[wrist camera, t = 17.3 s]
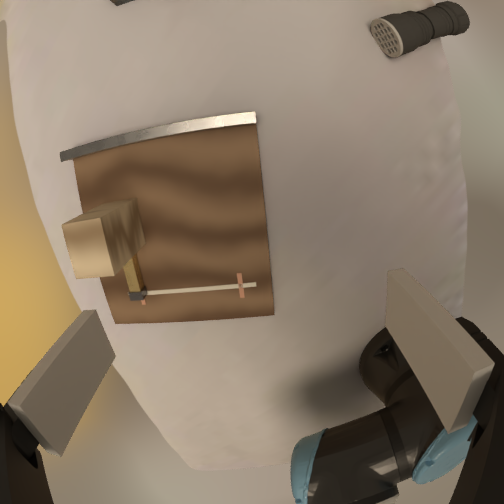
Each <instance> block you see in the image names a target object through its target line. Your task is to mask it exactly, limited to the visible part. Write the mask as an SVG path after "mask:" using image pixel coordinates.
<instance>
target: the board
mask: <svg viewBox="0 0 504 504" xmlns="http://www.w3.org/2000/svg"><path fill="white" fill-rule="evenodd" d="M60 159H61V162H62V161H67V160H73V161H74V168H75V174H76V180H77V185H78V191H79V196H80V201H81V206H82V211H83V213H85V212H87V211H89V210H91V209H94V208H96V207H98V206H100V205H102V204H105V203H110V202H116V201H121V200H127V199H133V198H137V202H138V207H139V213H140V218H141V223H142V228H143V233H144V238H145V242H146V244H145V245H144V246H143V247H142V248H141V249H140V250H139V251H138V252H137V253H136V255H137V259H138V264H139V268H140V272H141V276H142V279H143V283H144V286H146V290H147V293H148V294H147V296H146V297H145V299H144V300H138V301H130V297H129V294H128V293H129V291H130V290H129V287H128V283H127V280H126V276H125V272H124V269H123V268H122V269H121V270H120V271H119V272H118V273H117V274H116V275H115V276H107V277H100V280H101V283H102V286H103V289H104V293H105V296H106V299H107V302H108V305H109V308H110V310H111V313H112V316H113V319H114V322H115V324H131V323H164V322H186V321H204V320H220V319H234V318H246V317H258V316H269V315H274V305H273V293H272V282H271V271H270V259H269V248H268V238H267V227H266V217H265V206H264V196H263V186H262V176H261V166H260V157H259V147H258V138H257V129H256V115H255V112H247V113H238V114H229V115H222V116H214V117H207V118H201V119H195V120H189V121H183V122H177V123H172V124H167V125H162V126H157V127H152V128H147V129H143V130H138V131H134V132H130V133H126V134H122V135H118V136H114V137H110V138H106V139H103V140H99V141H95V142H92V143H88V144H85V145H82V146H78V147H75V148H72V149H69V150H66V151H63V152H60Z"/></svg>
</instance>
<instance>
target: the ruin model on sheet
mask: <svg viewBox="0 0 504 504" xmlns="http://www.w3.org/2000/svg"><path fill="white" fill-rule="evenodd" d="M110 1H112V2H113V3H114V4H115V5H116V6H119V5H122V4H124V3H127V2H130V1H134V0H110Z"/></svg>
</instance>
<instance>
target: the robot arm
mask: <svg viewBox="0 0 504 504" xmlns="http://www.w3.org/2000/svg"><path fill="white" fill-rule="evenodd" d="M385 326H386V328H385V329H384V330H382V331H381V332H380V333H378V334H377V335H376V336H375V337H374V338H373V339H372V340H371V341H370V343H369V344H368V345H367V347H366V348H365V350H364V352H363V354H362V356H361V359H360V364H359V369H360V373H361V376H362V378H363V381H364V383H365V385H366V386H367V387H368V388H369V389H370V390H371V391H372V392H373V393H374V394H375V395H376V396H377V397H378V398H379V399H380V400H381V401H382V402H384V404H385V406H386V408H384V409H381V410H379V411H376V412H374V413H371V414H369V415H367V416H364V417H361V418H359V419H356V420H353V421H350V422H348V423H345V424H342V425H339V426H336V427H333V428H330V429H328V428H326V429H323V430H322V431H321V432H318V433H315V434H313V435H310V436H307V437H304V438H302V439H301V440H300V441H298V443H297V444H296V446H295V447H294V450H293V453H292V458H291V486H292V492H293V496H294V498H295V502H296V504H394V503H395V501H396V499H397V498H398V496H399V492H398V488H397V483H399V482H401V481H403V480H406V479H408V478H411V477H412V479H413V481H415V482H416V483H417V484H425V483H427V482H429V481H430V482H431V481H433V480H435V479H437V478H439V477H441V476H443V475H444V474H446V473H448V472H449V471H450V470H452V469H453V468H454V467H456V466H457V465H458V464H459V463H461V462H462V461H463V460H464V459H465V458H466V459H465V463H464V466H463V469H462V471H461V474H460V477H459V480H458V483H457V485H456V488H455V490H454V493H453V496H452V498H451V500H450V502H449V504H504V355H503V354H502V353H501V351H500V350H499V349H498V348H497V347H496V346H495V345H494V344H493V343H492V342H491V341H490V340H489V339H487V337H486V335H485V334H483V332H481V331H480V329H479V328H478V327H477V326H476V325H475V324H474V323H473V322H471V321H469V320H467V319H465V318H463V317H459V318H456V319H454V318H453V317H452V316H451V315H450V314H449V312H448V311H447V310H446V309H445V308H444V307H443V306H442V305H441V304H440V303H439V302H438V301H437V300H436V299H435V298H434V297H433V296H432V295H431V294H430V293H429V292H428V291H427V290H426V289H425V288H424V287H422V286H421V285H420V284H419V283H418V282H417V281H416V280H415V279H414V278H413V277H412V276H411V275H410V274H409V273H408V272H407V271H406V270H405V269H404V268H402V269H397V270H392V271H388V279H387V303H386V319H385ZM115 357H116V355H115V353H114V351H113V349H112V347H111V344H110V342H109V340H108V338H107V335H106V333H105V331H104V328H103V326H102V324H101V321H100V319H99V316H98V314H97V311H96V310H84V311H83V312H82V313H81V314H80V315H79V316H78V317H77V318H76V320H75V321H74V322H73V323H72V324H71V325H70V326H69V327H68V329H67V330H66V331H65V332H64V333H63V334H62V336H61V337H60V338H59V339H58V340H57V341H56V342H55V344H54V345H53V346H52V347H51V348H50V349H49V351H48V352H47V353H46V354H45V355H44V357H43V358H42V359H41V360H40V361H39V363H38V364H37V365H36V366H35V368H34V369H33V370H32V371H31V372H30V373H29V374H28V376H27V377H26V379H25V380H24V381H23V382H22V383H21V385H20V386H19V387H18V388H17V390H16V391H15V392H14V393H13V395H12V396H11V397H10V399H9V400H8V402H7V403H6V404H5V405H4V407H3V406H2V404H1V403H0V504H54V503H53V500H52V496H51V493H50V489H49V486H48V482H47V478H46V474H45V470H44V465H43V461H42V456H41V453H40V451H39V450H38V449H37V446H38V444H39V443H40V445H41V446H42V447H43V448H44V449H45V450H46V451H47V452H48V453H51V454H54V455H57V456H60V457H61V456H62V455H63V453H64V450H65V448H66V446H67V445H68V443H69V441H70V439H71V437H72V435H73V433H74V431H75V429H76V427H77V425H78V423H79V421H80V419H81V418H82V416H83V414H84V412H85V410H86V408H87V406H88V404H89V403H90V401H91V399H92V397H93V395H94V394H95V392H96V390H97V388H98V387H99V385H100V383H101V381H102V379H103V378H104V376H105V374H106V373H107V371H108V369H109V367H110V366H111V364H112V362H113V361H114V359H115Z"/></svg>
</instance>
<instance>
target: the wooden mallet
mask: <svg viewBox="0 0 504 504" xmlns="http://www.w3.org/2000/svg"><path fill="white" fill-rule="evenodd" d="M62 229H63V233H64V237H65V241H66V245H67V249H68V252H69V256H70V259H71V263H72V266H73V270H74V273H75V276H76V279H82V278H95V277H107V276H115V275H116V274H117V273H118V272H119V271H120V270H121V269H122V268H123V269H124V272H125V276H126V280H127V283H128V287H129V290H130V291H129V293H128V294H129V297H130V301H138V300H144V299H145V297H146V296H147V294H148V293H147V290H146V286H144V283H143V279H142V276H141V272H140V268H139V264H138V259H137V255H136V253H137V252H138V251H139V250H140V249H141V248H142V247H143V246H144V245H145V244H146V242H145V238H144V233H143V228H142V223H141V218H140V213H139V207H138V202H137V198H133V199H127V200H121V201H116V202H110V203H105V204H102V205H100V206H98V207H96V208H94V209H91V210H89V211H87V212H85V213H83V214H81V215H79V216H78V217H76V218H74V219H72V220H70V221H68V222H66V223H64V224H62Z"/></svg>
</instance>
